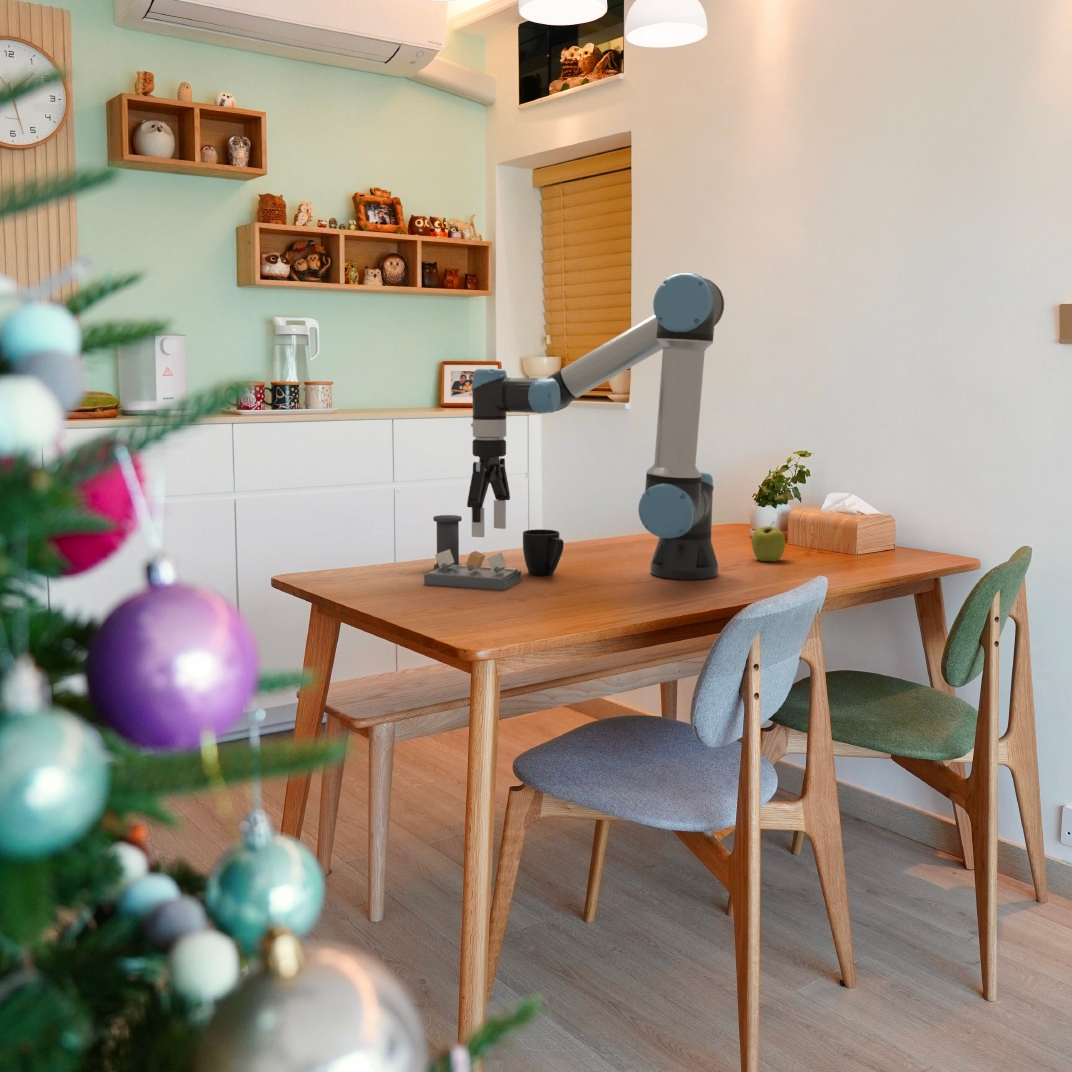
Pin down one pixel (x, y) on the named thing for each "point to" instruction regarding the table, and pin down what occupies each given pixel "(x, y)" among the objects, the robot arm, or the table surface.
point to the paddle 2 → (497, 562)
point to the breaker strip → (473, 577)
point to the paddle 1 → (445, 559)
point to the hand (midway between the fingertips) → (489, 532)
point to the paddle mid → (475, 561)
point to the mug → (542, 551)
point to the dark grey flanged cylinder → (448, 535)
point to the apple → (768, 543)
